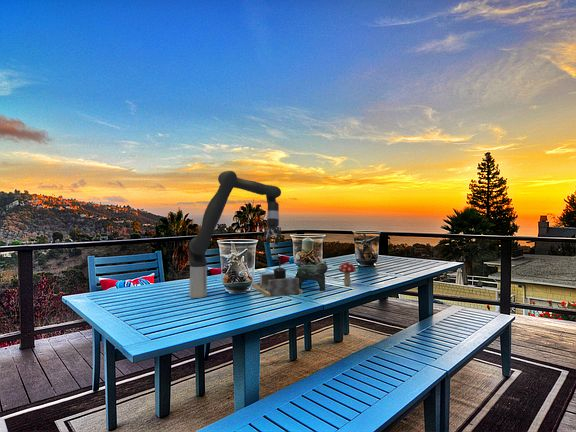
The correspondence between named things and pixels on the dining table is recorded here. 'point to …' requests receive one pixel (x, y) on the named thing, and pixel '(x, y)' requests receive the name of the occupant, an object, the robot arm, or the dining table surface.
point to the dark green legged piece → (312, 273)
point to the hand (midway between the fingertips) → (272, 244)
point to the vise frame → (279, 287)
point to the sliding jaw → (266, 279)
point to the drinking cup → (279, 272)
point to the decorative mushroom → (347, 272)
